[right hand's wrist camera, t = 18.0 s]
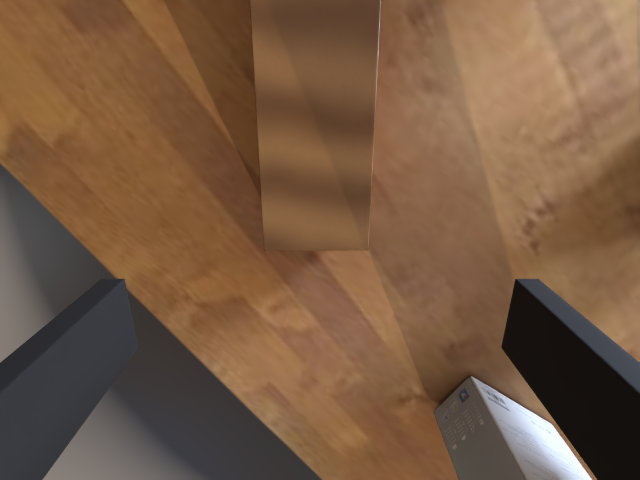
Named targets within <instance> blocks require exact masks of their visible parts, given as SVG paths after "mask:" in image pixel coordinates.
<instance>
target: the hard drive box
mask: <svg viewBox="0 0 640 480" xmlns="http://www.w3.org/2000/svg"><path fill="white" fill-rule="evenodd" d="M434 415H435V417H436V420H437V423H438V426H439V428H440V431H441V434H442V436H443V439H444V442H445V444H446V447H447V450H448V452H449V455H450V457H451V460H452V463H453V465H454V468H455V471H456V473H457V476H458V479H459V480H592V479H591V478H590V476H589V475H588V473H587V472H586V471H585V469H584V468H583V466H582V465H581V464H580V462H579V461H578V460H577V458H576V457H575V455H574V454H573V453H572V451H571V450H570V448H569V447H568V446H567V444H566V443H565V442H564V440H563V439H562V437H561V436H560V435H559V433H558V432H557V431H556V429H555V428H554V426H553V425H552V424H551V423H549V422H547V421H546V420H544V419H542V418H540V417H539V416H537V415H536V414H534V413H532V412H531V411H529V410H527V409H525V408H524V407H522V406H521V405H519V404H517V403H516V402H514V401H512V400H511V399H509V398H507V397H506V396H504V395H502V394H501V393H499V392H497V391H496V390H495V389H493V388H491V387H489V386H488V385H486V384H484V383H482V382H481V381H479V380H477V379H476V378H474V377H472V376H471V377H470V378H467V379H466V380H465V381H464V382H463V383H462V384H461V385H460V386H459V387H458V388H457V389H456V390H455V391H454V392H453V393H452V394H451V395H450V396H449V397H448V398H447V399H446V400H445V401H444V402H443V403H442V404H441V405H440V406H439V407H438V408H437V409H436V410H435V411H434Z"/></svg>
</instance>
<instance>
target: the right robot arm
mask: <svg viewBox="0 0 640 480" xmlns="http://www.w3.org/2000/svg"><path fill="white" fill-rule="evenodd" d="M137 349H138V343H137V338H136V333H135V328H134V323H133V318H132V313H131V309H130V304H129V299H128V294H127V289H126V284H125V279H101V280H100V281H99V282H97V283H96V284H95V285H94V286H93V287H91V288H90V289H89V290H88V291H87V292H85V293H84V294H83V295H82V296H81V297H79V298H78V299H77V300H76V301H75V302H73V303H72V304H71V305H70V306H68V307H67V308H66V309H65V310H64V311H63V312H61V313H60V314H59V315H58V316H56V317H55V318H54V319H53V320H52V321H50V322H49V323H48V324H47V325H46V326H44V327H43V328H42V329H41V330H40V331H38V332H37V333H36V334H35V335H34V336H32V337H31V338H30V339H29V340H27V341H26V342H25V343H24V344H23V345H21V346H20V347H19V348H18V349H17V350H15V351H14V352H13V353H12V354H11V355H9V356H8V357H7V358H6V359H5V360H3V361H2V362H1V363H0V480H42V479H43V478H44V477H45V475H46V474H47V473H48V471H49V470H50V468H51V467H52V466H53V464H54V463H55V462H56V460H57V459H58V457H59V456H60V455H61V453H62V452H63V451H64V449H65V448H66V446H67V445H68V444H69V442H70V441H71V440H72V438H73V437H74V435H75V434H76V433H77V431H78V430H79V429H80V427H81V426H82V425H83V423H84V422H85V420H86V419H87V418H88V416H89V415H90V413H91V412H92V411H93V409H94V408H95V407H96V405H97V404H98V402H99V401H100V400H101V398H102V397H103V396H104V394H105V393H106V392H107V390H108V389H109V387H110V386H111V385H112V383H113V382H114V381H115V379H116V378H117V376H118V375H119V374H120V372H121V371H122V369H123V368H124V367H125V365H126V364H127V363H128V361H129V360H130V359H131V357H132V356H133V354H134V353H135V352H136V350H137ZM502 349H503V350H504V352H505V353H506V354H507V356H508V357H509V359H510V360H511V361H512V363H513V364H514V365H515V367H516V368H517V370H518V371H519V372H520V374H521V375H522V376H523V378H524V379H525V381H526V382H527V383H528V385H529V386H530V387H531V389H532V390H533V392H534V393H535V394H536V396H537V397H538V398H539V400H540V401H541V403H542V404H543V405H544V407H545V408H546V409H547V411H548V412H549V414H550V415H551V416H552V418H553V419H554V420H555V422H556V423H557V425H558V426H559V427H560V429H561V430H562V431H563V433H564V434H565V435H566V437H567V438H568V440H569V441H570V442H571V444H572V445H573V446H574V448H575V449H576V451H577V452H578V453H579V455H580V456H581V457H582V459H583V460H584V462H585V463H586V464H587V466H588V467H589V468H590V470H591V471H592V473H593V474H594V475H595V477H596V478H597V479H598V480H640V362H638V361H637V360H636V359H634V358H633V357H632V356H631V355H629V354H628V353H627V352H626V351H625V350H623V349H622V348H621V347H620V346H619V345H617V344H616V343H615V342H614V341H613V340H611V339H610V338H609V337H608V336H607V335H605V334H604V333H603V332H602V331H600V330H599V329H598V328H597V327H596V326H594V325H593V324H592V323H591V322H590V321H588V320H587V319H586V318H585V317H584V316H582V315H581V314H580V313H579V312H578V311H576V310H575V309H574V308H573V307H572V306H570V305H569V304H568V303H567V302H565V301H564V300H563V299H562V298H561V297H559V296H558V295H557V294H556V293H555V292H553V291H552V290H551V289H550V288H549V287H547V286H546V285H545V284H544V283H543V282H541V281H540V280H539V279H515V284H514V289H513V294H512V299H511V304H510V309H509V313H508V318H507V323H506V328H505V333H504V338H503V343H502Z"/></svg>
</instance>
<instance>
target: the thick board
mask: <svg viewBox="0 0 640 480" xmlns="http://www.w3.org/2000/svg"><path fill="white" fill-rule="evenodd" d="M380 11H381V0H250V12H251V30H252V48H253V65H254V83H255V101H256V118H257V136H258V154H259V171H260V189H261V206H262V224H263V242H264V251H327V250H368V247H369V227H370V208H371V188H372V168H373V149H374V129H375V109H376V90H377V70H378V50H379V31H380Z"/></svg>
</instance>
